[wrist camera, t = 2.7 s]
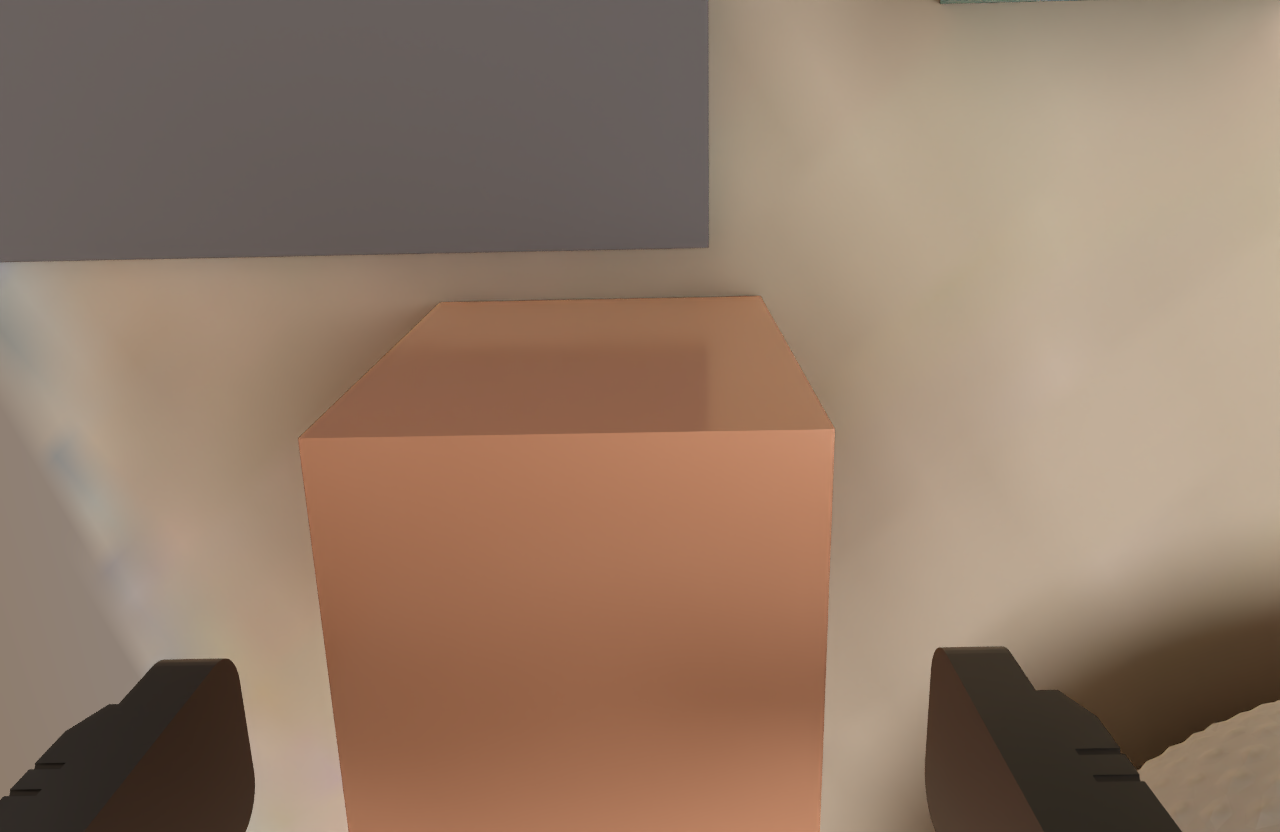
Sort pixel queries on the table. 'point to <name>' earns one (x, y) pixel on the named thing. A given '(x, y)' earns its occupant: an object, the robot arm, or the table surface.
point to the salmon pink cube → (577, 571)
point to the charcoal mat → (350, 127)
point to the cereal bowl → (1223, 775)
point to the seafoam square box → (991, 1)
